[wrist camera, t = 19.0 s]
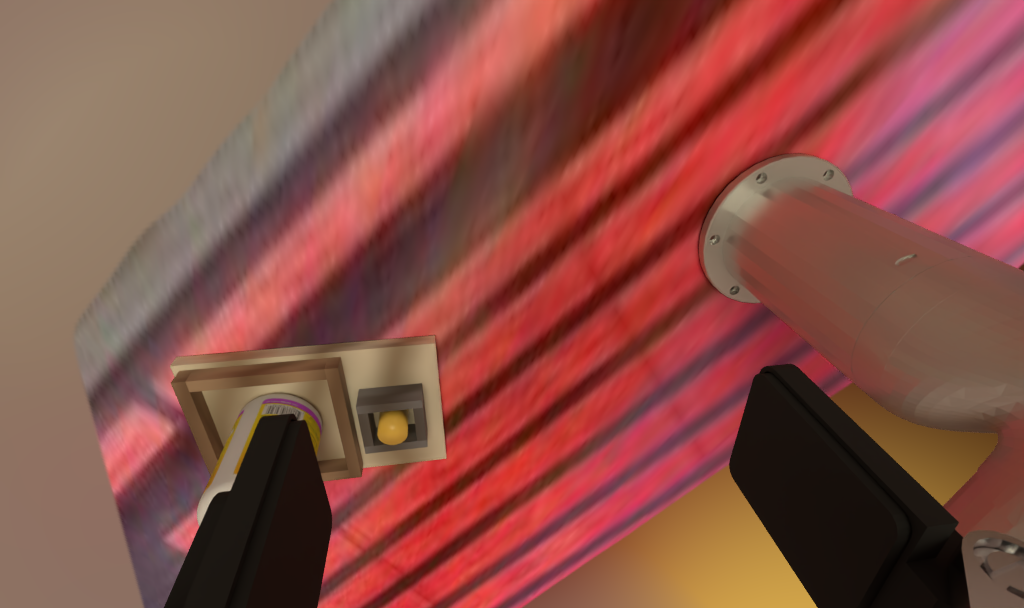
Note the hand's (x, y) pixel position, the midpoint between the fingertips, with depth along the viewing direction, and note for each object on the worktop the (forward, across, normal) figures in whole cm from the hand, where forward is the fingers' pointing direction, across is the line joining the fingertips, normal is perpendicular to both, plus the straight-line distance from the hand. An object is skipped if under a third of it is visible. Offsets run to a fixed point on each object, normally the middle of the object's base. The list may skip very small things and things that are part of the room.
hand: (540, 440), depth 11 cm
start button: (+27, +7, +22) cm, 35 cm away
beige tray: (+28, +13, +22) cm, 38 cm away
